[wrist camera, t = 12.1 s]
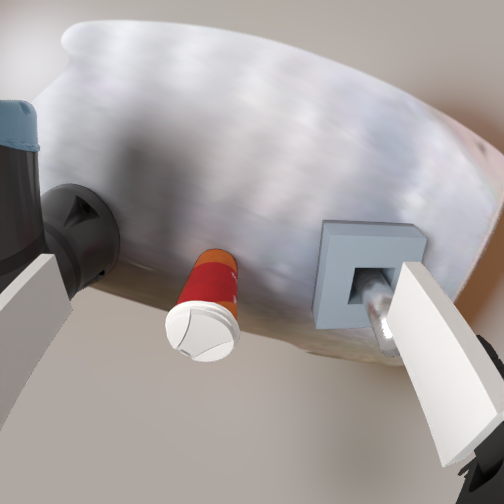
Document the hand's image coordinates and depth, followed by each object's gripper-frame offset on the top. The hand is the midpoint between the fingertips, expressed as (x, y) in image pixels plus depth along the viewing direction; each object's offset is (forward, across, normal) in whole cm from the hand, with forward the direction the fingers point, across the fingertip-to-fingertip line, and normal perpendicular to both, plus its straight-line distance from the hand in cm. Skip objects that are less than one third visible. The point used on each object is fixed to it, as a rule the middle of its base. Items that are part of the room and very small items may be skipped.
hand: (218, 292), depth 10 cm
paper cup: (+27, -4, -15) cm, 31 cm away
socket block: (+27, +16, -15) cm, 34 cm away
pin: (+26, +16, -15) cm, 34 cm away
